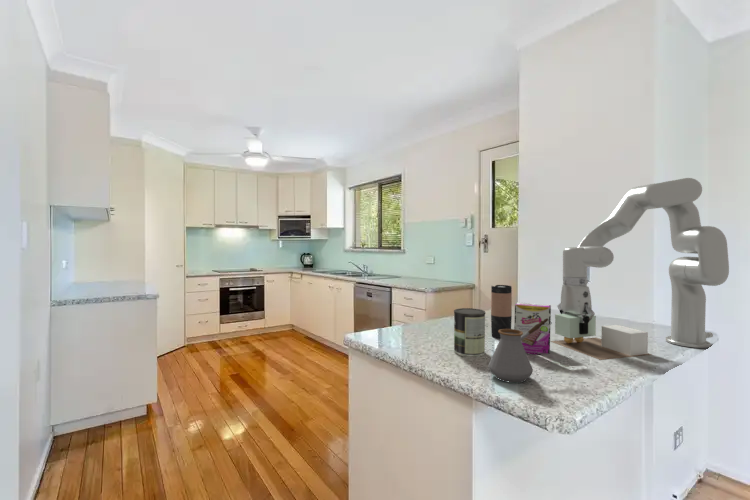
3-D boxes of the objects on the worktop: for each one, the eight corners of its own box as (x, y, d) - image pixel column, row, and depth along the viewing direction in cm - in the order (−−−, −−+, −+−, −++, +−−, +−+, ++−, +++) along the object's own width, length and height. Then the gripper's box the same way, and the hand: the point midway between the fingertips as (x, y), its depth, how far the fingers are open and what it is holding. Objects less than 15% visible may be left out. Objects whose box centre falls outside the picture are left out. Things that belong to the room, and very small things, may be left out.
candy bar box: (513, 352, 126) (514, 304, 125) (514, 348, 130) (515, 302, 130) (550, 357, 121) (550, 306, 120) (550, 352, 125) (550, 304, 125)
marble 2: (579, 341, 136) (579, 332, 136) (585, 343, 133) (585, 334, 133) (572, 341, 136) (572, 333, 136) (578, 343, 133) (578, 335, 133)
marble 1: (568, 341, 135) (569, 333, 135) (575, 344, 132) (575, 335, 132) (561, 342, 134) (562, 334, 134) (568, 344, 132) (568, 336, 131)
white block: (601, 346, 130) (601, 326, 129) (617, 344, 131) (617, 324, 131) (630, 355, 119) (630, 333, 119) (647, 353, 121) (647, 332, 121)
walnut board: (595, 340, 141) (595, 337, 141) (652, 357, 120) (652, 354, 120) (549, 343, 136) (549, 341, 136) (600, 363, 115) (600, 359, 115)
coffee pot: (511, 389, 95) (511, 330, 95) (479, 374, 105) (479, 321, 105) (566, 375, 105) (566, 321, 104) (532, 363, 115) (532, 314, 115)
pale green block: (580, 331, 139) (580, 312, 138) (595, 335, 132) (595, 315, 132) (555, 333, 136) (555, 314, 136) (569, 338, 129) (569, 318, 129)
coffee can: (449, 354, 125) (449, 311, 124) (459, 346, 133) (459, 307, 133) (480, 359, 119) (480, 315, 119) (488, 350, 128) (488, 309, 128)
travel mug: (512, 339, 142) (513, 287, 141) (491, 338, 143) (492, 286, 143) (509, 334, 149) (510, 285, 149) (489, 334, 151) (490, 284, 150)
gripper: (603, 283, 126) (604, 336, 126) (565, 279, 143) (565, 325, 143) (585, 285, 124) (585, 338, 125) (548, 279, 141) (549, 326, 141)
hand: (575, 330), depth 134 cm, fingers closed on pale green block, 7 cm apart
